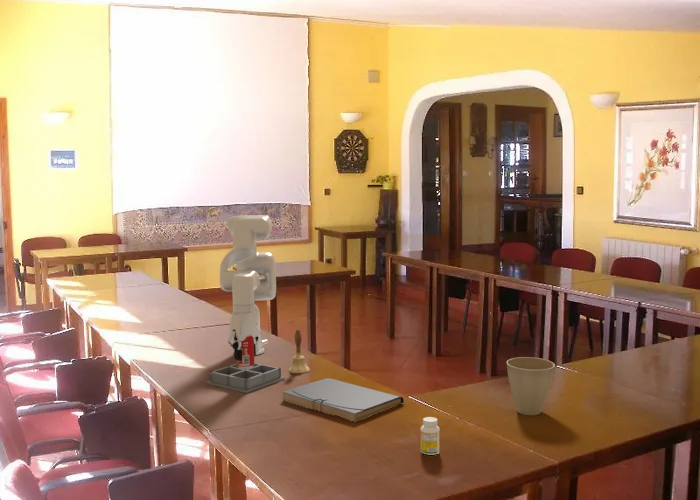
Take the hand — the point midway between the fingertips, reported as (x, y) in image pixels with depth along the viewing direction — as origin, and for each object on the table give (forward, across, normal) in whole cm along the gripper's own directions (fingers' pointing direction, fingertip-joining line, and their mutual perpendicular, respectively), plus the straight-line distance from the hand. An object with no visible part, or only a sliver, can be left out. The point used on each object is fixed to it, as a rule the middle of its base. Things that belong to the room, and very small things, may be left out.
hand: (245, 357), depth 275 cm
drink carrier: (+11, -4, -4) cm, 12 cm away
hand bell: (+11, -26, +3) cm, 29 cm away
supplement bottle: (+11, +16, +86) cm, 88 cm away
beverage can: (+4, 0, 0) cm, 4 cm away
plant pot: (+11, -31, +95) cm, 100 cm away
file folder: (+12, -5, +40) cm, 41 cm away
